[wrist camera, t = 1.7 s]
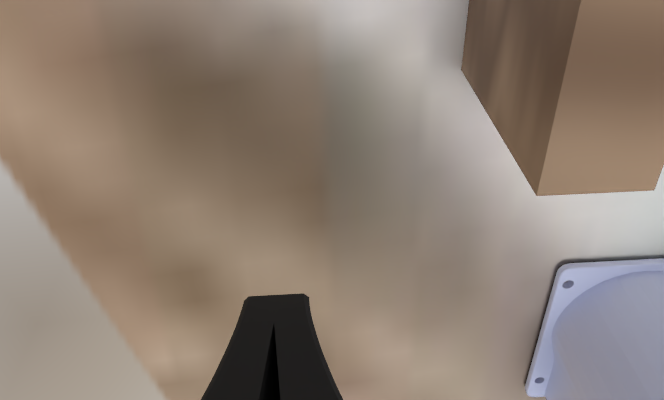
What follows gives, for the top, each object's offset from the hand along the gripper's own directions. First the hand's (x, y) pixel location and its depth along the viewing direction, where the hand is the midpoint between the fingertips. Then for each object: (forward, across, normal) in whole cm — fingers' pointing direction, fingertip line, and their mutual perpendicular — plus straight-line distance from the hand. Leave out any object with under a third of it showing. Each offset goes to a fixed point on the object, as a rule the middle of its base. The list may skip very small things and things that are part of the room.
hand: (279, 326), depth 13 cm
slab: (+10, -8, -5) cm, 14 cm away
